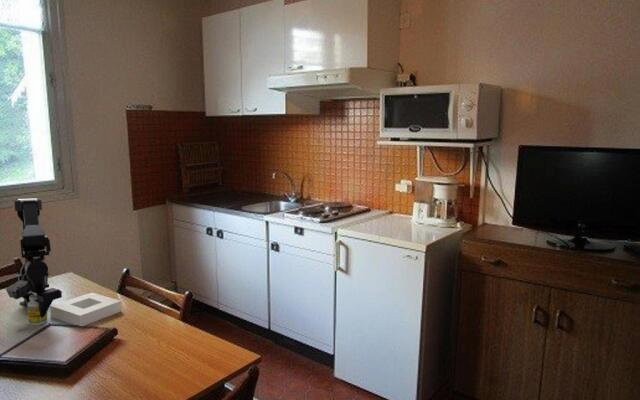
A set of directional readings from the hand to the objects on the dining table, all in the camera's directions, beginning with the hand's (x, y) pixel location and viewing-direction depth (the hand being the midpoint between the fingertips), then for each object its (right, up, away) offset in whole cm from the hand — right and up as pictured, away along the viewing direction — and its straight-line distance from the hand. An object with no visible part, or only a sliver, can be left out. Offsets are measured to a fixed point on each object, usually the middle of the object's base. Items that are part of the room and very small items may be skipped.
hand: (37, 315), depth 150 cm
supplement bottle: (0, -3, 0) cm, 3 cm away
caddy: (+12, -2, +9) cm, 15 cm away
